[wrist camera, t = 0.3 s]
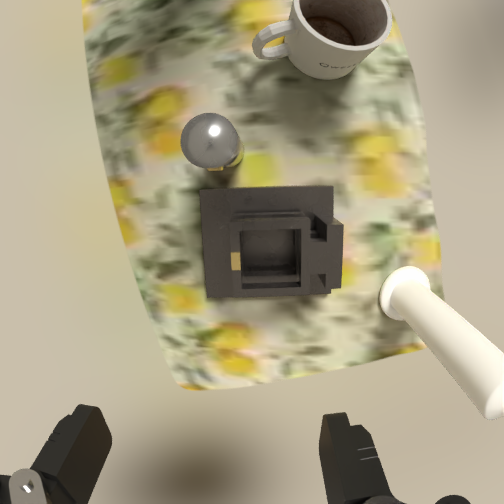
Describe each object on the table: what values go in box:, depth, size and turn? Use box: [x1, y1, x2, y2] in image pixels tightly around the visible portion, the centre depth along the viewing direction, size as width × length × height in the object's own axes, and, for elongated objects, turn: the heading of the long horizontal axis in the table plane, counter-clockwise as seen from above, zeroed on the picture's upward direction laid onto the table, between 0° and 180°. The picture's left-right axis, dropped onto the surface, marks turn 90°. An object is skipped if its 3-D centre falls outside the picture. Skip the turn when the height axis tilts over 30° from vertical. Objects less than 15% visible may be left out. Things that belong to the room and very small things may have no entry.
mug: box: [252, 0, 392, 80], centre depth 25 cm, size 12×9×10 cm
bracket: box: [199, 186, 343, 298], centre depth 32 cm, size 12×14×7 cm
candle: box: [380, 266, 504, 420], centre depth 25 cm, size 7×7×25 cm
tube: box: [181, 113, 244, 171], centre depth 26 cm, size 4×4×14 cm
